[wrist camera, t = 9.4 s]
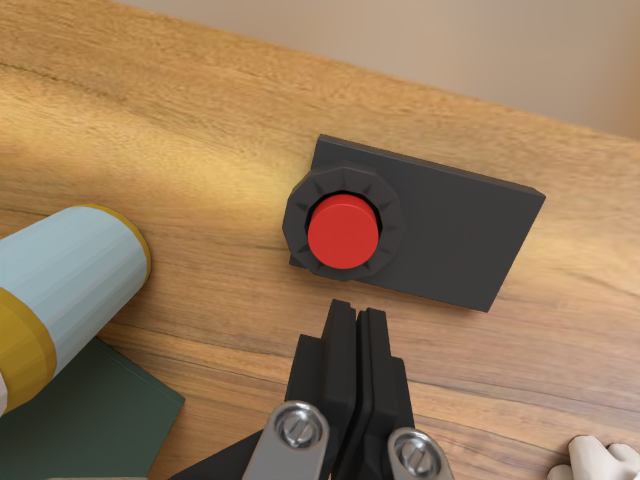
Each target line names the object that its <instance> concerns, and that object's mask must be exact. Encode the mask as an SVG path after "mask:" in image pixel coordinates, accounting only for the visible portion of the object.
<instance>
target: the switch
mask: <svg viewBox="0 0 640 480" xmlns="http://www.w3.org/2000/svg"><path fill="white" fill-rule="evenodd" d="M338 194H349V195H353V196H356V197H358V198H360V199H362V200H364V201H365V202H366V203H367V204H368V205H369V206H370V207H371V209H372V210H373V212H374V215H375V218H376V223H377V229H378V244H377V247H376V249H375V251H374V253H373V254H372V256H371V257H370V258H369V259H368V260H367V261H365V262H364V263H363V264H361V265H359V266H356V267H353V268H348V269H338V268H334V267H330V266H328V265H326V264H324V263H322V262H321V261H320V260H319V259H318V258H317V257H316V256H315V255H314V254H313V252H312V251H311V249H310V246H309V243H308V230H309V226H310V222H311V218H312V215H313V212H314V210H315V209H316V207H317V206H318V205H319V204H320V203H321V202H322V201H323V200H325V199H327V198H329V197H331V196H334V195H338ZM545 199H546V196H545V195H543V194H542V193H540V192H539V191H537V190H536V189H534V188H532V187H528V186H524V185H520V184H516V183H512V182H508V181H504V180H500V179H496V178H492V177H488V176H484V175H481V174H477V173H473V172H469V171H465V170H461V169H457V168H453V167H449V166H445V165H441V164H437V163H433V162H429V161H426V160H422V159H418V158H414V157H410V156H406V155H402V154H398V153H394V152H390V151H386V150H382V149H378V148H375V147H371V146H367V145H363V144H359V143H355V142H351V141H347V140H343V139H339V138H335V137H331V136H327V135H324V134H320V135H319V138H318V140H317V144H316V149H315V153H314V157H313V162H312V166H311V170H310V172H309V173H308V174H307V175H306V176H305V177H304V178H303V179H302V180H301V181H300V182H299V183H298V184H297V185H296V186H295V187H294V188H293V190H292V192H291V194H290V196H289V198H288V201H287V206H286V211H285V216H284V220H283V225H282V229H283V232H284V235H285V238H286V240H287V243H288V246H289V249H290V251H291V257H290V262H289V264H290V265H293V266H297V267H301V268H305V269H308V270H310V271H311V272H312V273H313V274H315V275H318V276H322V277H326V278H330V279H335V280H339V281H344V282H345V281H349V280H355V281H359V282H363V283H367V284H371V285H375V286H379V287H383V288H387V289H391V290H396V291H400V292H404V293H408V294H412V295H416V296H420V297H424V298H428V299H432V300H437V301H441V302H445V303H449V304H453V305H457V306H461V307H465V308H469V309H473V310H477V311H482V312H486V313H488V311H489V309H490V307H491V305H492V303H493V301H494V299H495V297H496V295H497V293H498V291H499V289H500V287H501V285H502V284H503V282H504V280H505V278H506V276H507V274H508V272H509V270H510V268H511V266H512V264H513V262H514V260H515V258H516V256H517V254H518V252H519V250H520V248H521V246H522V244H523V242H524V240H525V238H526V236H527V234H528V232H529V230H530V228H531V226H532V224H533V222H534V220H535V218H536V216H537V215H538V213H539V211H540V209H541V207H542V205H543V203H544V201H545Z"/></svg>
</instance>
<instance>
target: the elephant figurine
mask: <svg viewBox="0 0 640 480" xmlns="http://www.w3.org/2000/svg"><path fill="white" fill-rule="evenodd" d="M569 453H570V460H571V466H572V467H570V466H568V465H558V466H555V467H553V468H552V469H551V470H550V472H549V473H548V475H547V480H640V455H639V454H638V453H637V452H636V451H635V450H633V449H632V448H631V447H629V446H628V445H625V444H618V443H614V444H612V445H610V447H609V448H608V449H606V448H605V447H604V446H603V445H602V444H601V443H600V442H599V441H598V440H597V439H596V438H595V437H593V436H591V435H588V436H578V437H575V438H574V439H573V440H572V441H571V442H570V444H569Z"/></svg>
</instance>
